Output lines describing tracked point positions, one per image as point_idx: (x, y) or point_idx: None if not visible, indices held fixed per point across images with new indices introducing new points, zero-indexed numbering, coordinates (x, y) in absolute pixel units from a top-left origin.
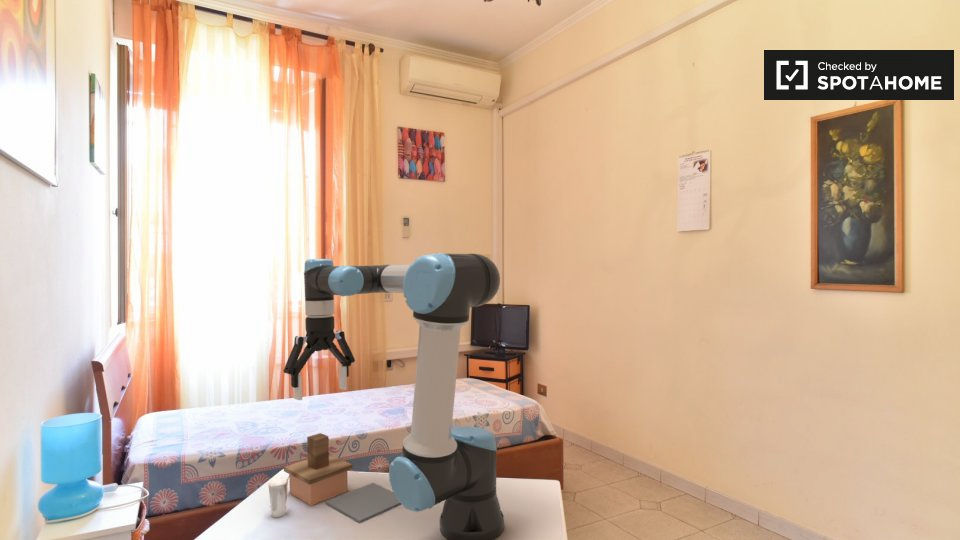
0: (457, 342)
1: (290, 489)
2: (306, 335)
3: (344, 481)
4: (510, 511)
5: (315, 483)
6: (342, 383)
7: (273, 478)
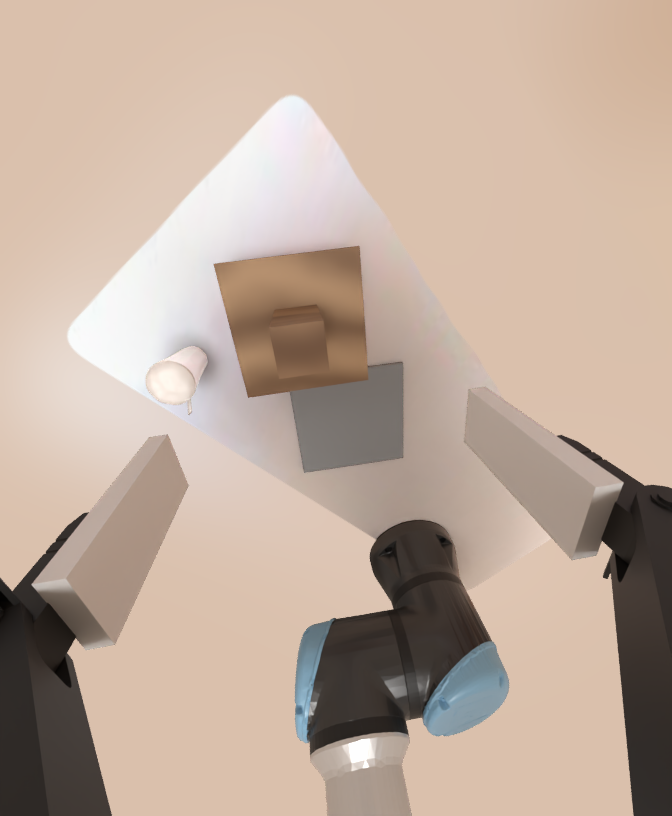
0: None
1: None
2: None
3: None
4: (471, 547)
5: None
6: (485, 444)
7: (156, 379)
